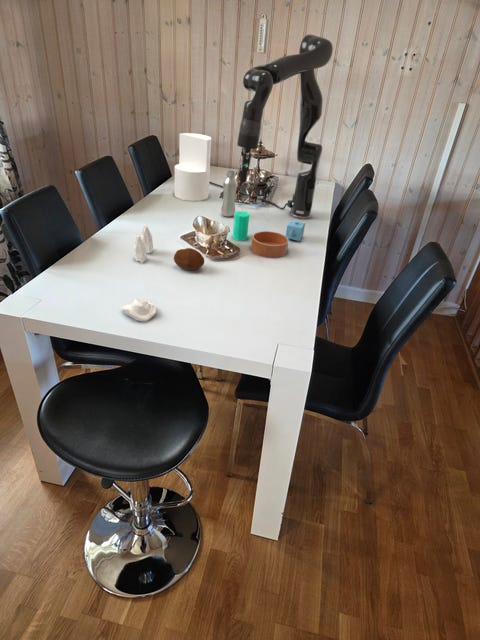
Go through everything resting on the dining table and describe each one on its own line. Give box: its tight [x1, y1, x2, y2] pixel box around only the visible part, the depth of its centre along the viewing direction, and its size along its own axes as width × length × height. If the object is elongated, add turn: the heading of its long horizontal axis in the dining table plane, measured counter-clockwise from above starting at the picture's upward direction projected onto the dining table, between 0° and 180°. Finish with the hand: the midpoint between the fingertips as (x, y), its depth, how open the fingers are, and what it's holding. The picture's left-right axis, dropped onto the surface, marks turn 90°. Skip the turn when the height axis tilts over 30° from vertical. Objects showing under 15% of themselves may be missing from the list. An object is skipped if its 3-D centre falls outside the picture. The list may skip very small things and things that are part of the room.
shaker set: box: [133, 224, 154, 264], centre depth 156 cm, size 12×4×11 cm, turn 168°
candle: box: [232, 209, 250, 242], centre depth 177 cm, size 6×6×12 cm
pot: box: [250, 230, 290, 259], centre depth 172 cm, size 14×14×5 cm
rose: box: [121, 298, 158, 323], centre depth 126 cm, size 10×4×10 cm
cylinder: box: [174, 132, 212, 202], centre depth 214 cm, size 17×17×28 cm
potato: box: [173, 247, 205, 271], centre depth 152 cm, size 8×11×8 cm
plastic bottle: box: [220, 170, 238, 218], centre depth 196 cm, size 6×7×20 cm
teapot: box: [285, 219, 306, 243], centre depth 182 cm, size 12×6×8 cm, turn 161°
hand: (241, 179), depth 163 cm, fingers open, 8 cm apart
